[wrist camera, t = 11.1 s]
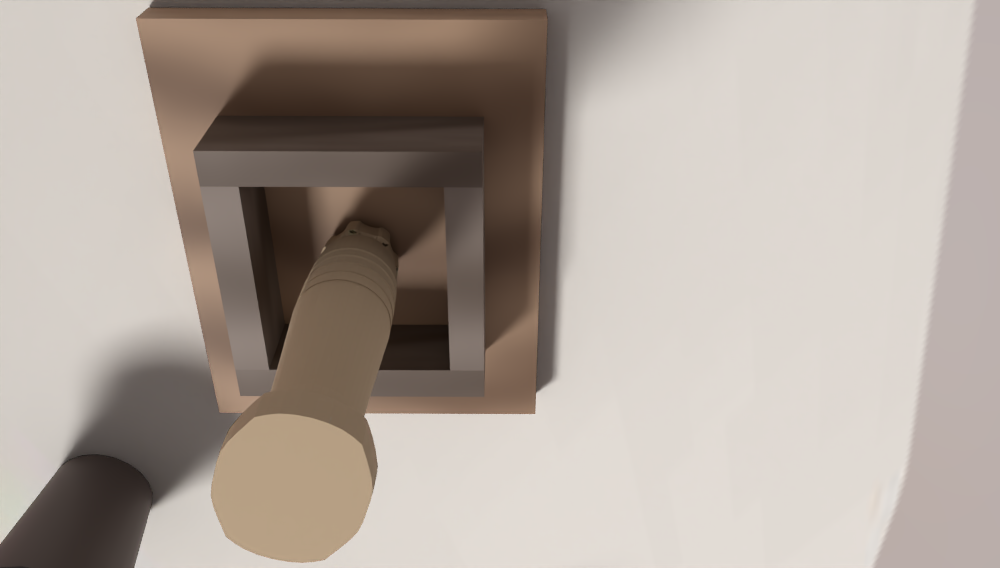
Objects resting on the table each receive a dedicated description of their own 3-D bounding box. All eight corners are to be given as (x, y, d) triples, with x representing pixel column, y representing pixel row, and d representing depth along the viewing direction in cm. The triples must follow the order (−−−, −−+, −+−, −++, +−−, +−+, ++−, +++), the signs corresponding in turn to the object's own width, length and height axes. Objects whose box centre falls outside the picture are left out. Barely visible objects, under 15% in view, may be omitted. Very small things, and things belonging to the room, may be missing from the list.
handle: (435, 204, 40) (392, 438, 27) (397, 319, 43) (344, 575, 30) (326, 171, 39) (230, 396, 26) (297, 291, 42) (199, 541, 30)
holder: (148, 7, 37) (102, 47, 33) (545, 9, 37) (551, 49, 33) (227, 393, 48) (200, 461, 43) (534, 394, 48) (537, 462, 43)
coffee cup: (102, 557, 54) (28, 714, 46) (-2, 471, 51) (-103, 625, 42) (207, 508, 52) (150, 663, 44) (107, 414, 48) (23, 565, 40)
